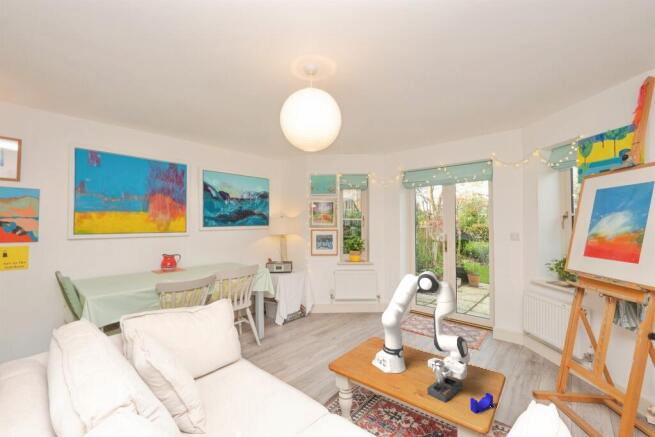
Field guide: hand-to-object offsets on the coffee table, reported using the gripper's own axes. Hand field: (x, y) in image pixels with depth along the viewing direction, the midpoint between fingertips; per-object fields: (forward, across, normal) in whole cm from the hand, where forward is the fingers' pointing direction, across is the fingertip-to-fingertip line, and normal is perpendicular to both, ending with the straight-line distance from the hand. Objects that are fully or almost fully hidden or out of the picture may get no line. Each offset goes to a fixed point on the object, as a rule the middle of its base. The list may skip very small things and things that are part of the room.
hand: (438, 373), depth 156 cm
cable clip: (-5, +19, +12) cm, 23 cm away
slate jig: (-6, 0, +12) cm, 13 cm away
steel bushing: (-1, 0, +8) cm, 8 cm away
